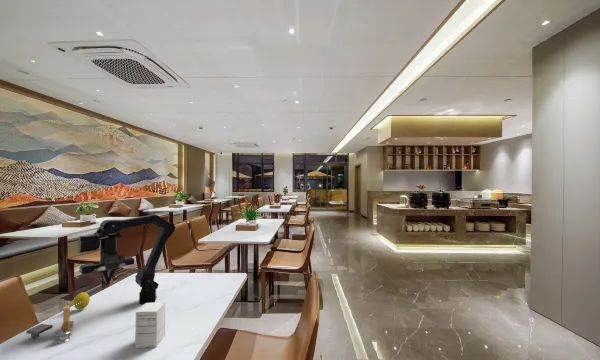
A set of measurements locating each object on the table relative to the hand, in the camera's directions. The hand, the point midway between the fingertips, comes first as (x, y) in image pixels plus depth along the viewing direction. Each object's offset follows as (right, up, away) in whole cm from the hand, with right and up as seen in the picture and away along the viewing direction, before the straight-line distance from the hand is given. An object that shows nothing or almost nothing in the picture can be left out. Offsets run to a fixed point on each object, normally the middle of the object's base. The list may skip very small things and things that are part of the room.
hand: (107, 284), depth 112 cm
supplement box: (+31, -13, -20) cm, 39 cm away
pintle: (-1, -13, -20) cm, 23 cm away
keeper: (-12, -13, -18) cm, 25 cm away
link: (-5, -12, -14) cm, 20 cm away
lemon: (-14, -13, +3) cm, 20 cm away
